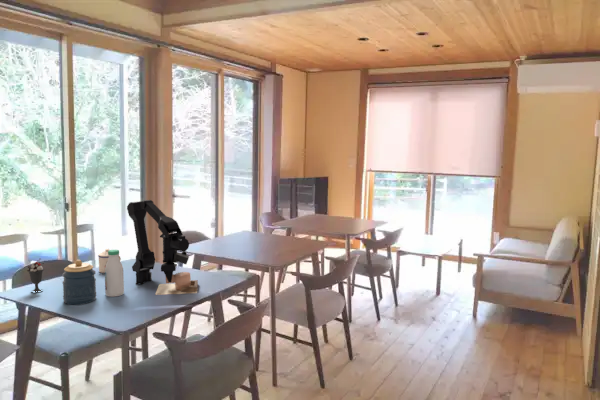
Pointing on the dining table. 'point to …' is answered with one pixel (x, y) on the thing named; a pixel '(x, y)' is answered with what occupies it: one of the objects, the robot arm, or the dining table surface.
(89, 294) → the canister
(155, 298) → the dining table surface
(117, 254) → the milk bottle
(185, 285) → the peach dome with handle
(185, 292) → the cradle
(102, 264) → the teacup with lid
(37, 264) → the sundae
